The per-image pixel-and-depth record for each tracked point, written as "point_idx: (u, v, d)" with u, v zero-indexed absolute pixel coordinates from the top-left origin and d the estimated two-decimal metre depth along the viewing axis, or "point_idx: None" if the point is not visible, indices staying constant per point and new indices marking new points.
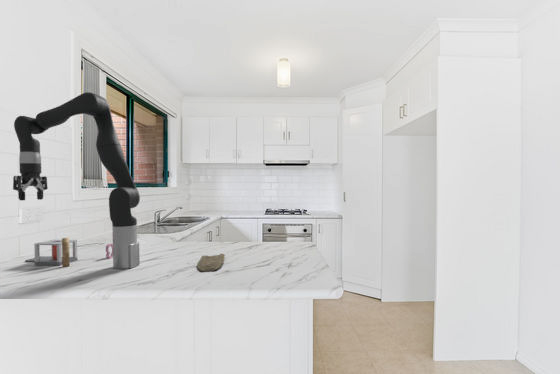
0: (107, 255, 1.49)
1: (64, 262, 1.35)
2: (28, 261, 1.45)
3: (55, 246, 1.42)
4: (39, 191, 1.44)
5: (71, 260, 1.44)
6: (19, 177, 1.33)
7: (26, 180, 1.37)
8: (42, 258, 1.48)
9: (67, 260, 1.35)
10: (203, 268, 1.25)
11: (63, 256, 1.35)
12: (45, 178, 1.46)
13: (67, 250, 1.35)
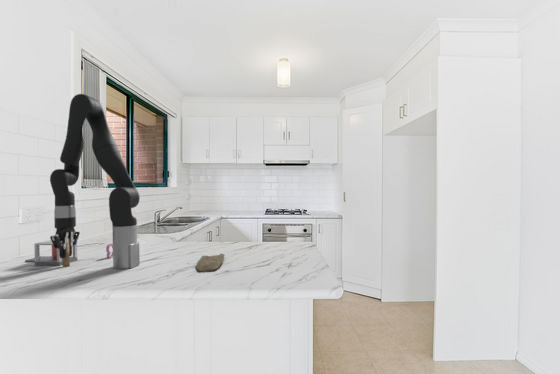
0: (108, 255, 1.50)
1: (64, 262, 1.35)
2: (28, 261, 1.45)
3: None
4: None
5: (71, 260, 1.44)
6: (56, 237, 1.29)
7: (62, 237, 1.33)
8: (42, 258, 1.48)
9: (67, 260, 1.35)
10: (201, 268, 1.25)
11: None
12: (78, 233, 1.41)
13: (67, 250, 1.35)
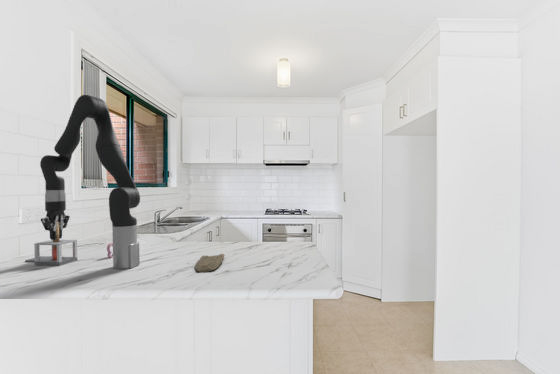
0: (108, 254, 1.50)
1: None
2: (28, 261, 1.45)
3: (55, 250, 1.42)
4: None
5: (71, 260, 1.44)
6: (46, 220, 1.37)
7: (52, 220, 1.40)
8: (42, 258, 1.48)
9: None
10: (200, 268, 1.24)
11: None
12: (68, 217, 1.48)
13: (57, 232, 1.42)
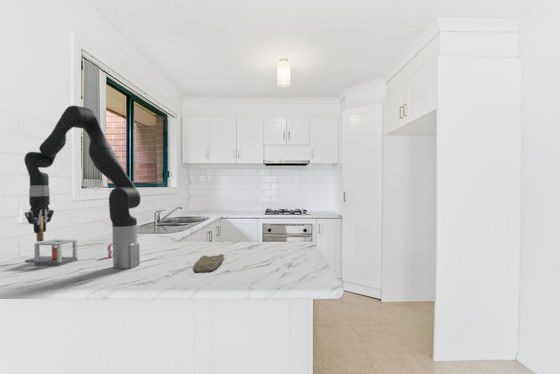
0: (109, 254, 1.51)
1: (38, 237, 1.47)
2: (28, 261, 1.45)
3: (55, 250, 1.42)
4: None
5: (71, 260, 1.44)
6: (30, 214, 1.42)
7: (36, 214, 1.46)
8: (42, 258, 1.48)
9: (41, 235, 1.48)
10: (198, 269, 1.24)
11: None
12: (52, 212, 1.54)
13: (41, 226, 1.48)
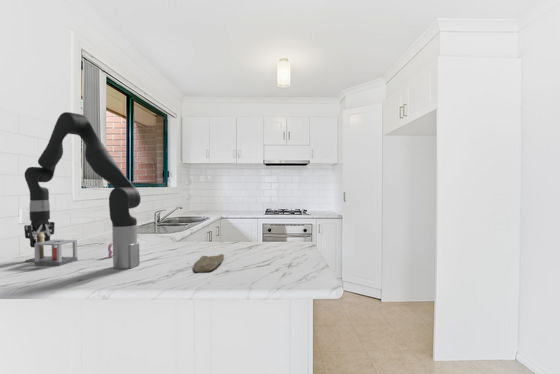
0: (109, 254, 1.51)
1: None
2: (28, 261, 1.45)
3: (55, 250, 1.42)
4: (46, 236, 1.52)
5: (71, 260, 1.44)
6: (29, 226, 1.42)
7: (36, 228, 1.45)
8: None
9: (41, 252, 1.48)
10: (197, 269, 1.24)
11: None
12: (53, 223, 1.54)
13: None
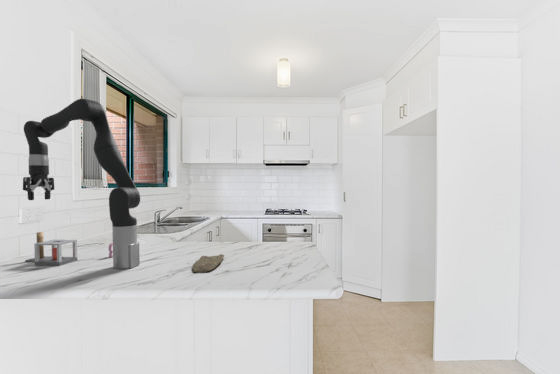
0: (110, 254, 1.51)
1: None
2: (28, 261, 1.45)
3: (55, 250, 1.42)
4: (46, 191, 1.52)
5: (71, 260, 1.44)
6: (28, 178, 1.42)
7: (35, 181, 1.45)
8: None
9: (41, 252, 1.48)
10: (196, 269, 1.24)
11: None
12: (52, 179, 1.54)
13: None
